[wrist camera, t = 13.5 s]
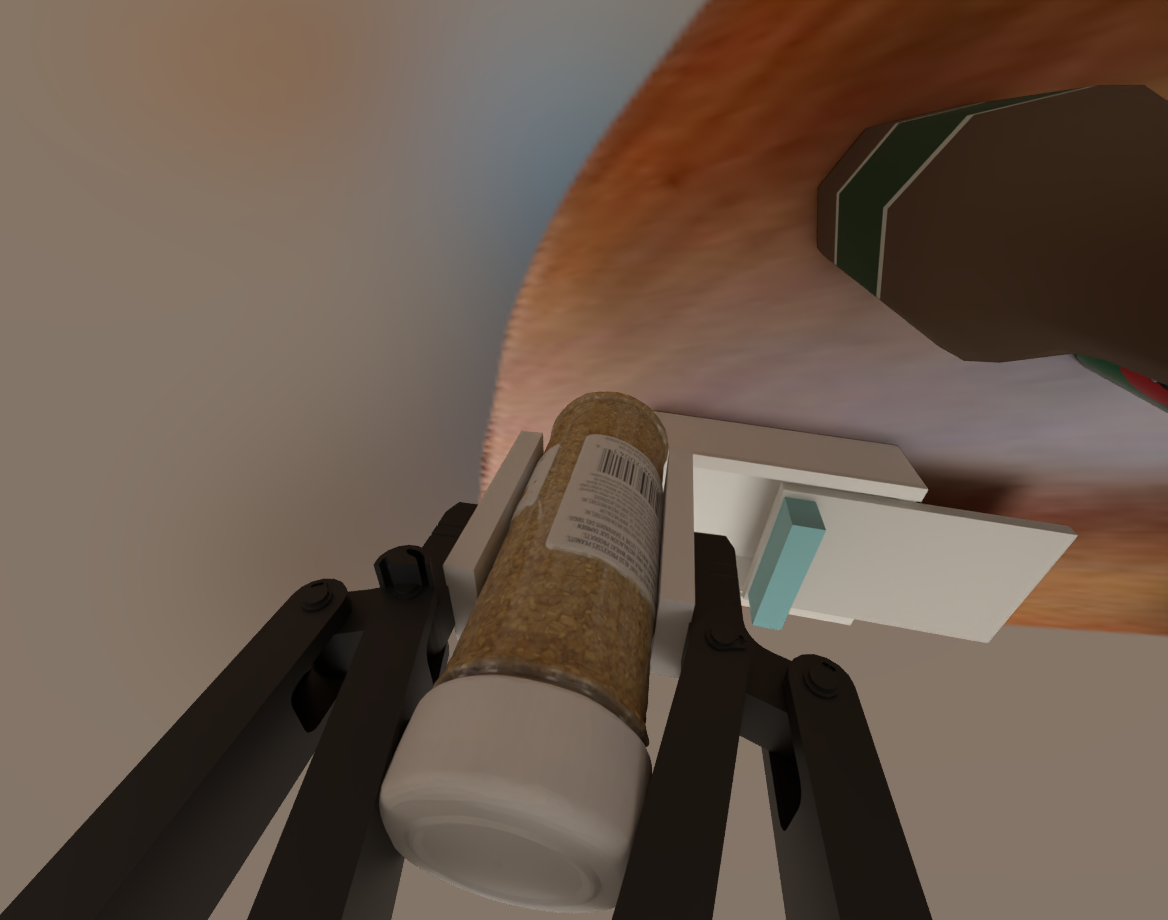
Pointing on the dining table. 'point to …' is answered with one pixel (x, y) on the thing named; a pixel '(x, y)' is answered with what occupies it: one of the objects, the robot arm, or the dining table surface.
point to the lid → (897, 562)
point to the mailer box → (777, 477)
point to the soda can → (1129, 381)
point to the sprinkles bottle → (547, 683)
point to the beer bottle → (1015, 225)
